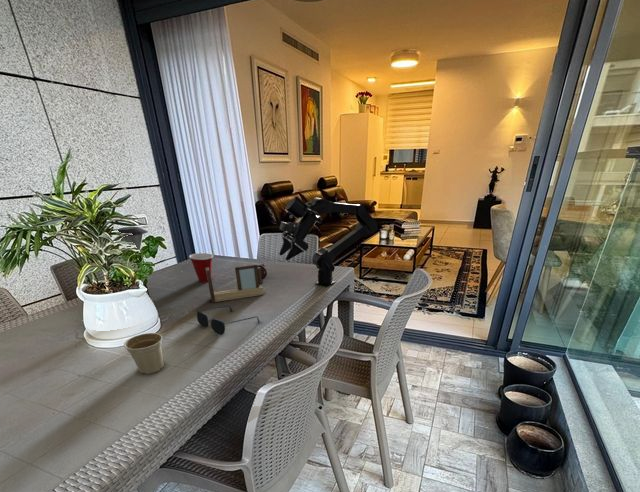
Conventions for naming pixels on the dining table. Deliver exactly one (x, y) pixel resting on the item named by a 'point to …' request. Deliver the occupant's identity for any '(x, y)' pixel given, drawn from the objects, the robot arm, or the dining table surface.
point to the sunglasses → (215, 321)
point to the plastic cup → (202, 265)
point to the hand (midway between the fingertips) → (283, 257)
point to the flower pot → (146, 352)
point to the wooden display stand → (231, 291)
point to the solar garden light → (133, 237)
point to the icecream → (263, 270)
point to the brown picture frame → (248, 277)
